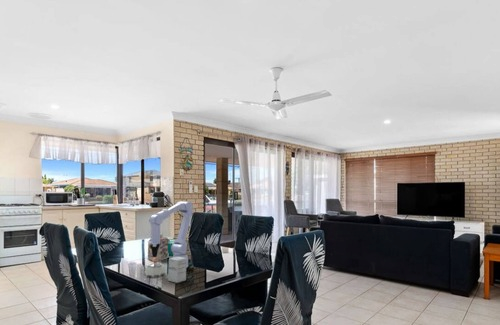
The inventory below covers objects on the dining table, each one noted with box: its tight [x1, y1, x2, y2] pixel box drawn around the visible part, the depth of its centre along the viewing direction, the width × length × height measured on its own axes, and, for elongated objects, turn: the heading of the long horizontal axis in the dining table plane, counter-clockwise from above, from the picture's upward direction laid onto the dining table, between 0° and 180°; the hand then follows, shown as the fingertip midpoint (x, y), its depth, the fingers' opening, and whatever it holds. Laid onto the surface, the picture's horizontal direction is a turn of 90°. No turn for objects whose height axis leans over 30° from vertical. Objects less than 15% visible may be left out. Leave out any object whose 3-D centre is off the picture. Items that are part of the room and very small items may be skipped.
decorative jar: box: [147, 234, 171, 262], centre depth 235 cm, size 12×12×18 cm
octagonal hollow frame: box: [143, 263, 165, 278], centre depth 192 cm, size 12×11×5 cm
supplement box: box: [167, 256, 187, 284], centre depth 179 cm, size 7×7×13 cm
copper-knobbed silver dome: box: [147, 258, 162, 267], centre depth 192 cm, size 8×8×4 cm
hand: (154, 256), depth 193 cm, fingers closed
